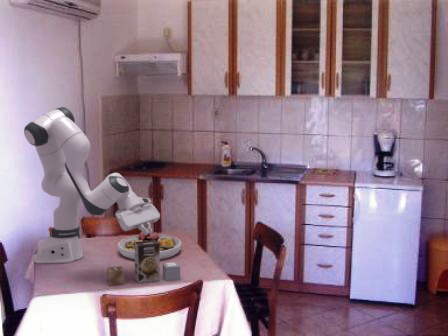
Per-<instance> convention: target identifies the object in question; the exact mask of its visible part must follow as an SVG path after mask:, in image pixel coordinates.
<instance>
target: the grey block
mask: <svg viewBox="0 0 448 336" xmlns="http://www.w3.org/2000/svg"><path fill="white" fill-rule="evenodd" d="M162 278H163V279H164V281H165V282H173V281H181V265H180V264H179V263H178V262H177V261H174V262H173V261H172V262H163V263H162Z"/></svg>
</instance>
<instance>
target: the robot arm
mask: <svg viewBox="0 0 448 336" xmlns="http://www.w3.org/2000/svg"><path fill="white" fill-rule="evenodd" d="M75 121H76V120H75V116H74V115H73V113H72V111H71V110H70V109H68V108H67V107H65V106H61V107H58V108H57V107H56V108H55V109H54V110H51V111H47V112H46V113H44V114H43V115H41V116H39V117H37V118H36V119H35V120H33V121H30V122H29V123H28V124H26V125H25V127H23V128H24V129H23V133H24V137H25V139H26V140H27V142H28V143H29V144H30V145H31V146H33V147H35V150H36V153H37V155H38V158H39V160H40V162H41V165H42V168H43V172H44V173H43V174H44V176H43V178H42V180H41V188H42V189H41V190H42V191H43V192H44V193H46V194H48V195H49V196H51V197H56V198H59V204H58V206H57V207H56V208H55V209H54V210H53V227H52V226H50V227H48V232H49V236H47V238H45V240H43V241H42V242H41V243H40V244H39V245H38V247H37V253H34V255H33V256H32V262H34V263H35V264H63V263H64V264H65V263H67V264H68V263H72V262H74V261H76V260H79V259H81V258H83V257H84V253H83V250H82V245H81V241H80V240H81V239H80V238H81V228H80V225H79V224H80V223H79V220H80V219H79V213H80V210H79V209H80V206H81V203H83V206H84V208H85V209H86V211H87V212H88V213H89V214H90V216H91V215H93V216H102V215H104V214H105V213H106V212H107V211H108V209H110V207H112V206H113V205H114V204H115V203H116V204H117V206H118V208H119V210H116V211H115V213H114V216H115V217H116V219H117V222H118V224H119V226H120V228H121V229H122V231H124V232H128V231H131V230H135V229H139V230H140V231H141V232H142V231H143V232H144V233H145V235H147V234H150V235H151V234H152V233H153V229H152V228H151V224H152V223H153V224H154V223H156V222H158V220H159V219H160V218H161V213H160V212H159V210H158V208H156V206H154V204H153V203H151V202H152V201H151V199H150V198H148V197H147V198H146V197H140V196H138V195H137V194H136V193H135V192H134V191H133V189H132V186H131V185H130V184H129V182H128V181H127V180H126V179H125V178H124V176H123V175H121V174H120V173H119V172H113V173H110V174H108V175H107V176H106V177H105V179H104V180H103V181H102V182H100V183H99V185H97V186H96V187H95V188H94V189H93V190H91V189H90V186H89V183H88V181H87V180H86V179H85V177H84V174H83V168H84V165H85V163H86V162H87V159H88V158H89V155H90V152H91V143H90V140H89V138H88V137H87V136H86V134H85V133H84V132H83V130H82V129H81V128H80V127H79V126H78V125H77V124H76V122H75Z"/></svg>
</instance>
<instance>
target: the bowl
mask: <svg viewBox="0 0 448 336" xmlns="http://www.w3.org/2000/svg"><path fill="white" fill-rule="evenodd" d="M150 240H156V241H157V242H158V243H159V244H160V249H159V251H160V261H161V260H165V259H169V258H171V257H174V256H175V255H177V254H178V253H179V251H180V250H181V248H182V241H181V240H180V239H179V238H177V237H175V236H170V235H165V234H159V233H157V232H156V231H154V232H152V233H150V234H147V235H145V233H144V232H143V231H141V232H139V233H138V235H133V236H129V237H126V238H124V239H121V240H120V241H119V242H118V243H117V248H118V251H119V253H120V254H121V255H122V256H124V257H126V258H128V259H130V260H134V261H135V242H140V241H150Z"/></svg>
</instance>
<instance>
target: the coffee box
mask: <svg viewBox="0 0 448 336" xmlns="http://www.w3.org/2000/svg"><path fill="white" fill-rule="evenodd" d="M159 249H160V244H159V243H158V242H157V241H156V240H150V241H140V242H135V260H134V279H135V281H137V283H138V284H144V283H152V282H158V281H159V282H160V278H161V277H160V273H161V272H160V267H161V266H160V263H161V262H160V261H161V260H160V251H159Z"/></svg>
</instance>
